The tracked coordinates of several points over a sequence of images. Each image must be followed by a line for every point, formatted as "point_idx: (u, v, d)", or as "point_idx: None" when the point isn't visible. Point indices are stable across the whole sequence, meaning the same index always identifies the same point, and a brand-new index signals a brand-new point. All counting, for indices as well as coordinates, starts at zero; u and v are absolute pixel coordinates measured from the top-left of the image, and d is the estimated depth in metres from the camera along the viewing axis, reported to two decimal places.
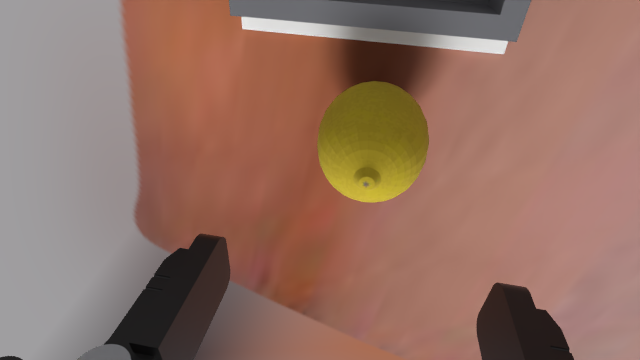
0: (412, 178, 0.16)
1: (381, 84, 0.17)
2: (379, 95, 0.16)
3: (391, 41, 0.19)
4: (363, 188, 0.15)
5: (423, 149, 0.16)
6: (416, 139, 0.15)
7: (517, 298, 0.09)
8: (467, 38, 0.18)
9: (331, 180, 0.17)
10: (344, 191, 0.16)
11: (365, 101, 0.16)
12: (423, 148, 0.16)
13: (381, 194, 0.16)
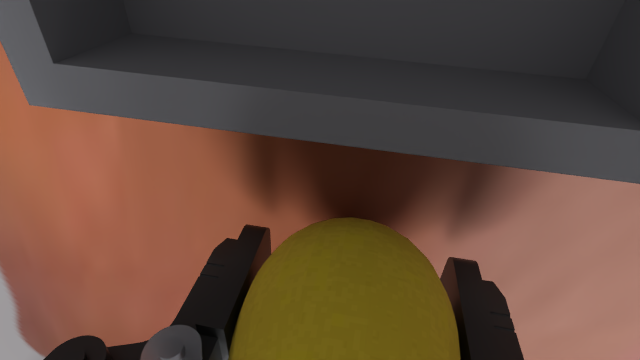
0: None
1: (360, 250, 0.08)
2: (353, 301, 0.07)
3: None
4: None
5: None
6: None
7: (465, 269, 0.10)
8: None
9: None
10: None
11: (319, 323, 0.07)
12: None
13: None
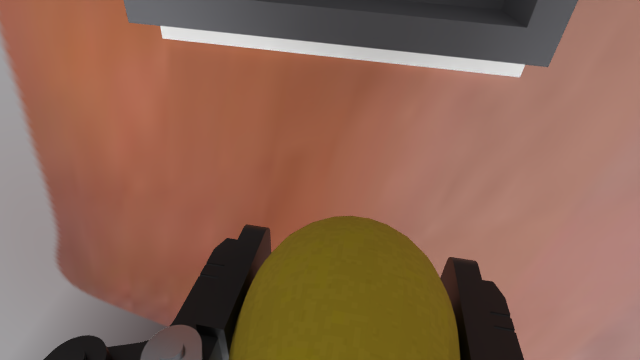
0: None
1: (360, 248, 0.08)
2: (353, 298, 0.07)
3: (367, 58, 0.14)
4: None
5: None
6: None
7: (465, 269, 0.10)
8: None
9: None
10: None
11: (320, 320, 0.07)
12: None
13: None
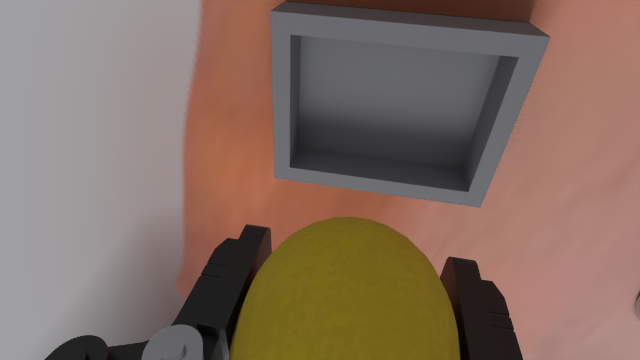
0: None
1: (360, 249, 0.08)
2: (353, 300, 0.07)
3: None
4: None
5: None
6: None
7: (464, 269, 0.10)
8: None
9: None
10: None
11: (320, 322, 0.07)
12: None
13: None
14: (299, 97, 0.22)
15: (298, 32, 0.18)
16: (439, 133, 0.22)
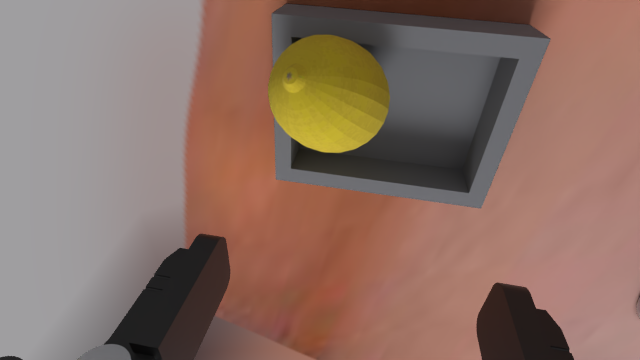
0: (342, 106, 0.15)
1: None
2: None
3: None
4: (286, 81, 0.14)
5: (365, 88, 0.15)
6: (360, 70, 0.15)
7: (517, 298, 0.09)
8: None
9: (268, 91, 0.16)
10: (274, 101, 0.16)
11: None
12: (365, 86, 0.15)
13: (304, 104, 0.15)
14: None
15: (299, 34, 0.18)
16: (440, 134, 0.22)
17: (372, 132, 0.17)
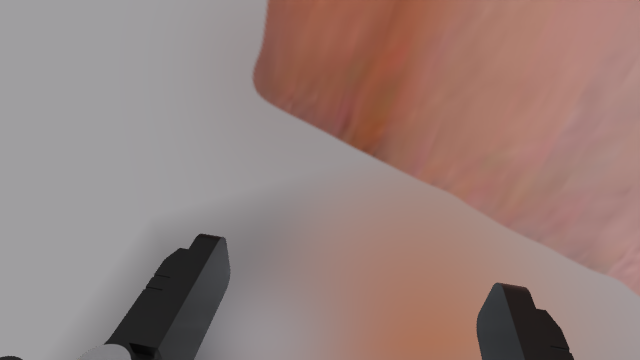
0: None
1: None
2: None
3: None
4: None
5: None
6: None
7: (517, 298, 0.09)
8: None
9: None
10: None
11: None
12: None
13: None
14: None
15: None
16: None
17: None
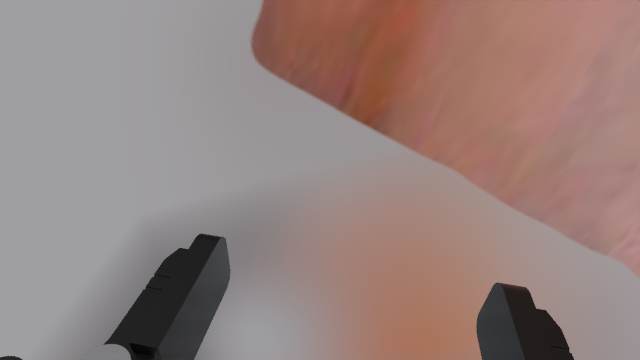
0: None
1: None
2: None
3: None
4: None
5: None
6: None
7: (517, 298, 0.09)
8: None
9: None
10: None
11: None
12: None
13: None
14: None
15: None
16: None
17: None
